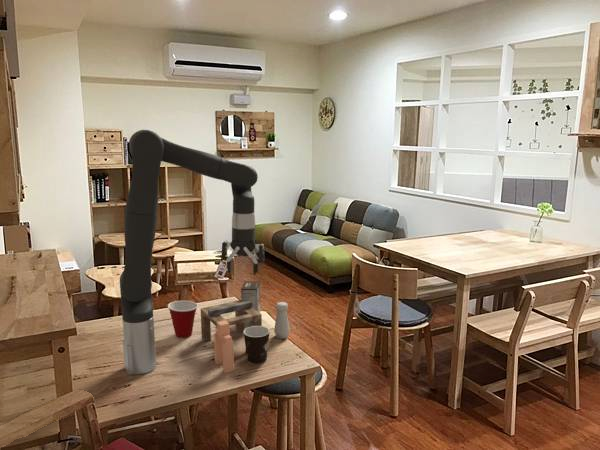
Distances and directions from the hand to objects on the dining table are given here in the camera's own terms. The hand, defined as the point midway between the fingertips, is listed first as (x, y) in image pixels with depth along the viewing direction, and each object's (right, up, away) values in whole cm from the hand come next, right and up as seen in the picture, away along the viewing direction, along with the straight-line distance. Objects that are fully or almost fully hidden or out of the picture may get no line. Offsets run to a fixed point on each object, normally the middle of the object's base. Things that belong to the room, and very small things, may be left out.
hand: (242, 272), depth 167 cm
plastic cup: (-23, -25, +17) cm, 38 cm away
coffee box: (0, -23, +27) cm, 35 cm away
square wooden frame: (-5, -26, +11) cm, 28 cm away
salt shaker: (+13, -25, +16) cm, 32 cm away
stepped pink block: (-5, -30, -6) cm, 31 cm away
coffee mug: (+4, -29, -2) cm, 29 cm away
